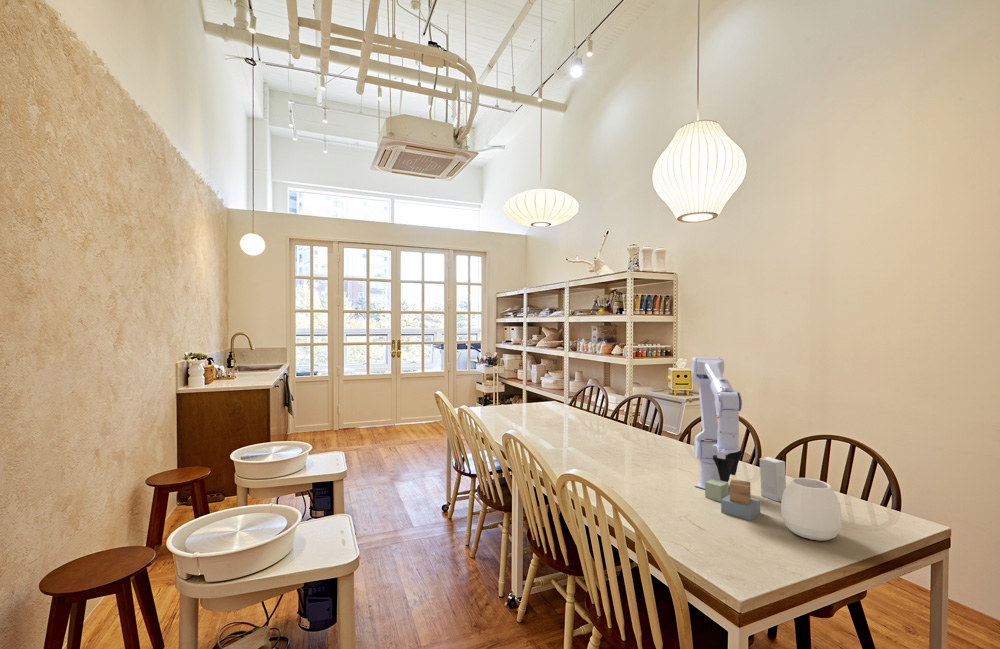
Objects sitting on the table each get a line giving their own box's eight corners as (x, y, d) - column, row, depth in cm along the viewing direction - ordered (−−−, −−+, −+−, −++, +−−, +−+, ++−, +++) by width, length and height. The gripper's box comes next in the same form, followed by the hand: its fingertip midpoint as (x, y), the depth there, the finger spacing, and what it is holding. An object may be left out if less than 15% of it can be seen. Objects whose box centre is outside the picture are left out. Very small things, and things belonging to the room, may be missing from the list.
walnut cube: (731, 495, 139) (731, 479, 139) (750, 499, 136) (750, 482, 136) (729, 501, 135) (729, 483, 135) (749, 504, 132) (749, 487, 132)
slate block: (731, 506, 141) (731, 493, 141) (760, 513, 135) (760, 500, 135) (721, 513, 136) (721, 499, 136) (750, 521, 130) (750, 507, 130)
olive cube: (713, 494, 151) (712, 478, 151) (728, 498, 147) (728, 482, 147) (705, 497, 148) (705, 482, 148) (720, 502, 144) (720, 486, 144)
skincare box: (787, 500, 145) (787, 461, 145) (776, 502, 144) (776, 463, 144) (769, 493, 151) (769, 456, 151) (759, 495, 149) (759, 457, 149)
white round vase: (844, 551, 112) (844, 495, 112) (780, 538, 119) (780, 485, 119) (839, 530, 124) (839, 480, 124) (781, 519, 131) (781, 471, 131)
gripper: (720, 426, 146) (720, 469, 146) (706, 434, 135) (706, 481, 135) (745, 429, 142) (745, 473, 142) (732, 438, 131) (732, 486, 131)
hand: (728, 477), depth 138 cm, fingers open, 7 cm apart
